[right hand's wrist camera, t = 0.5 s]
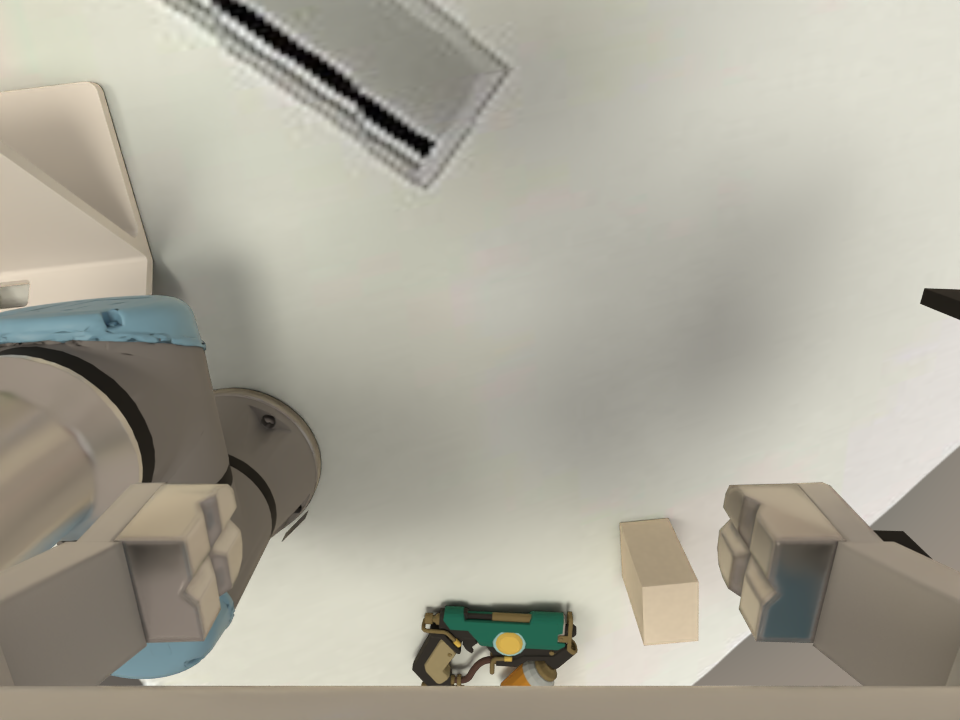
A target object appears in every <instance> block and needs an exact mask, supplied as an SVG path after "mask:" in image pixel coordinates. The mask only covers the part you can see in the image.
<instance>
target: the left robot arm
mask: <svg viewBox="0 0 960 720" xmlns="http://www.w3.org/2000/svg"><path fill="white" fill-rule="evenodd" d="M920 304H922V305H925V306H927V307H930V308H932V309H934V310H937V311H939V312H942V313H944V314H947V315H949V316H952V317H954V318H957V319H959V320H960V290H956V289H929V288H924V292H923V295H922V299H921V302H920ZM205 350H206V345H205V343H204V341H202V340H201V338H200V334H199V331H198V327H197V324H196V321H195V317H194V314H193V312H192V310H191V308H190V307H189V306H188V305H187V304H186V303H185V302H183V301H182V300H180V299H178V298H175V297H170V296H163V295H139V296H120V297H107V298H96V299H85V300H76V301H67V302H59V303H51V304H44V305H37V306H30V307H24V308H19V309H14V310H9V311H4V312H0V572H1V571H3V570H6V569H8V568H10V567H12V566H14V565H16V564H19V563H21V562H23V561H25V560H27V559H30V558H32V557H34V556H36V555H38V554H40V553H43V552H45V551H47V550H49V549H51V548H52V547H53V546H54V545H55V544H56V543H57V545H60V544H62V543H64V542H76V541H77V540H78V539H79V538H80V537H81V536H82V535H83V534H84V533H85V532H86V531H87V530H88V529H89V528H90V527H91V526H92V525H93V524H94V523H95V522H96V521H97V519H98V518H99V517H100V516H101V515H102V514H103V513H104V512H105V511H106V510H107V509H108V508H109V507H110V506H111V505H112V504H113V503H114V502H115V501H116V500H117V499H118V498H119V497H120V495H121V494H122V493H123V492H124V491H125V490H126V489H127V488H128V487H129V486H130V485H132V484H136V483H163V482H164V483H200V484H228V485H229V486H230V487H231V488H232V489H233V491H234V495H235V500H236V505H237V508H236V509H235V511H234V513H233V514H232V516H231V518H230V520H231V521H232V522H233V523H234V524H235V525H236V526H237V527H238V528H239V529H240V530H241V536H242V561H241V566H240V570H239V575H238V577H237V579H236V581H235V583H234V585H233V587H232V589H230V590H229V591H227V592H226V593H224V594H223V595H221V596H220V597H219V599H220V605H221V610H220V612H219V614H218V616H217V618H216V620H215V621H214V623H213V625H212V627H211V629H210V631H209V633H208V635H207V636H206V638H205V640H204V641H197V642H162V643H147V646H146V647H145V648H144V649H142V650H141V651H140V652H139V653H137V654H136V655H135V656H134V657H132V658H131V659H130V660H129V661H127V662H126V663H125V664H124V665H122V666H121V667H120V668H119V669H117V670H116V671H115V672H114V673H112V674H111V675H112V676H117V677H123V678H131V679H153V678H161V677H166V676H170V675H174V674H177V673H180V672H182V671H185V670H187V669H189V668H191V667H193V666H194V665H196V664H197V663H199V662H200V661H201V659H203V658H204V657H205V656H206V655H207V654H208V653H209V652H210V651H211V650H212V649H213V647H214V646H215V644H216V642H217V641H218V639H219V638H220V636H221V635H222V633H223V632H224V630H225V629H226V628H227V627H228V626H229V625H230V623H231V621H232V619H233V617H234V614H233V613H234V612H235V608H236V606H237V604H238V602H239V600H240V598H241V596H242V594H243V592H244V590H245V588H246V586H247V584H248V582H249V580H250V578H251V576H252V574H253V572H254V570H255V568H256V566H257V564H258V562H259V560H260V558H261V556H262V554H263V552H264V550H265V548H266V546H267V544H268V542H269V540H270V538H271V537H273V536H274V535H275V534H276V533H278V532H279V531H280V530H282V529H283V528H284V527H286V526H287V525H288V524H290V523H291V522H292V521H293V520H295V519H296V518H297V517H298V516H299V515H300V514H301V513H302V512H303V511H304V510H305V508H306V507H307V506H308V504H309V502H310V501H311V499H312V497H313V494H314V492H315V490H316V488H317V485H318V482H319V478H320V472H321V459H320V453H319V448H318V445H317V442H316V440H315V438H314V436H313V434H312V432H311V430H310V429H309V427H308V426H307V425H306V423H305V422H304V421H303V420H302V418H301V417H300V416H299V415H298V414H297V413H296V412H294V411H293V410H292V409H291V408H290V407H288V406H287V405H285V404H284V403H282V402H281V401H279V400H277V399H275V398H273V397H271V396H269V395H266V394H263V393H261V392H257V391H253V390H248V389H240V388H225V389H217V390H213V388H212V384H211V380H210V375H209V371H208V366H207V361H206V357H205V352H204V351H205ZM308 511H309V510H308ZM308 511H307V512H306V513H305V514H304V515H303V516H302V517H301V518H300V519H299V520H298V521H297V522H296V523H295V524H294V525H293V526H292V527H291V528H290V529H289V530H288V531H287V532H286V534H285V536H284V538H283V540H284V539H285V538H286V537H287V536H288V535H289V534H290V533H291V532H292V531H293V530H294V529H295V528H296V527H297V526H298V525H299V524H300V523H301V522H302V521H303V520H304V519H305V518H306V515H307V513H308ZM873 531H874V532H875V533H876V534H877V535H878V536H879V537H880V538H881V539H882V540H883V541H884V542H896V543H898V544H900V545H902V546H904V547H907V548H909V549H911V550H913V551H915V552H917V553H920V554H922V555H924V556H926V557H928V558H930V559H932V558H931V557H930V556H929V555H927V554H926V553H925V552H924V551H923V550H922V549H921V548H920V547H919V546H918V545H917V544H916V543H915V542H914V541H913V540H912V539H911V538H910V537H909V536H908V535H907V534H906V533H905V532H903V531H875V530H873ZM283 540H282V541H283Z"/></svg>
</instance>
